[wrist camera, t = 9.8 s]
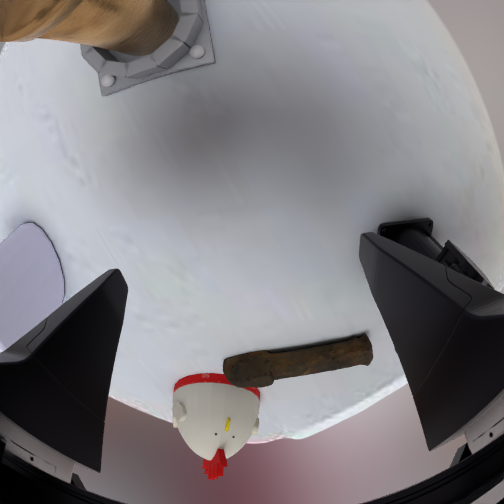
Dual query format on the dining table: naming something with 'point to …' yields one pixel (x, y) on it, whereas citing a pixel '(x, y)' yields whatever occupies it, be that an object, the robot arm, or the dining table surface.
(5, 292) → the soap bottle
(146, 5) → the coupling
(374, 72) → the dining table surface
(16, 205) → the dining table surface
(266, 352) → the hand tool
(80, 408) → the robot arm
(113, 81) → the socket
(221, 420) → the kitchen timer
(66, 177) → the dining table surface
